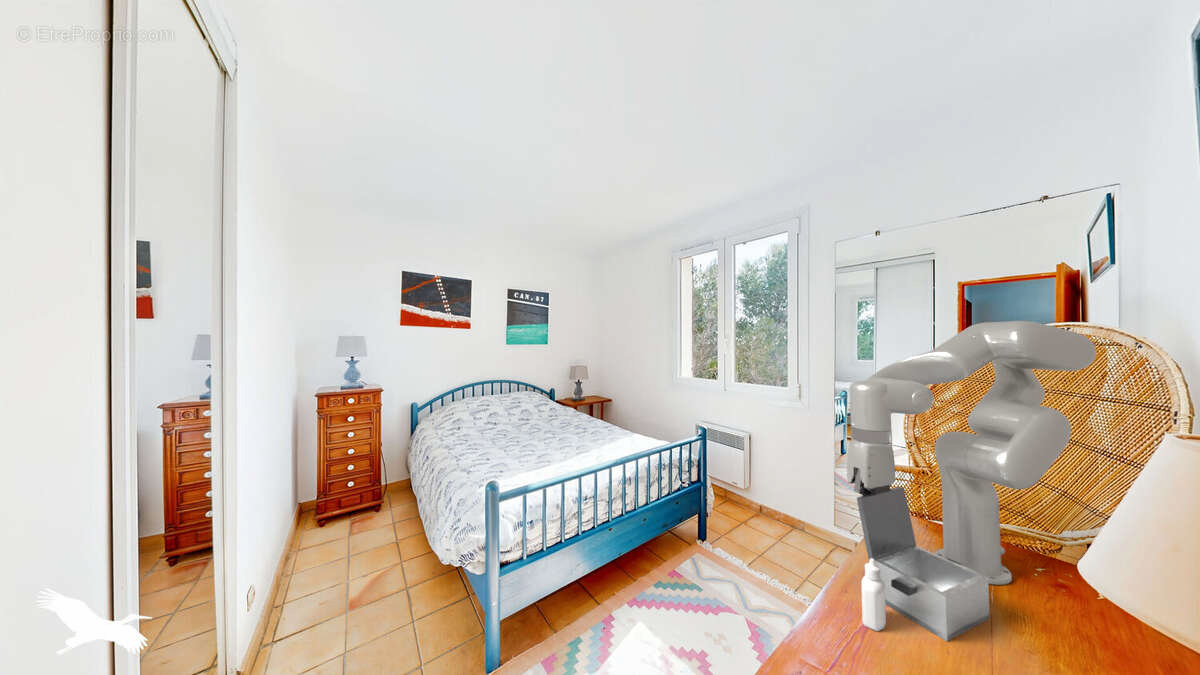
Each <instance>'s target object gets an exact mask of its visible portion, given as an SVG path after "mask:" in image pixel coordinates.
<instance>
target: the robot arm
mask: <svg viewBox="0 0 1200 675" xmlns="http://www.w3.org/2000/svg"><path fill="white" fill-rule="evenodd" d="M1096 356H1097V350H1096V346H1095V344H1094V343H1093V341H1092V340H1091V339H1090V338H1088V337H1087V336H1086V335H1083V334H1081V333H1079V332H1076V331H1072V330H1068V329H1064V328H1060V327H1056V326H1053V325H1050V324H1049V325H1048V324H1044V323H1040V322H1034V321H1027V320H1014V321H1013V320H1011V321H1010V320H1009V321H992V322H990V321H989V322H988V321H986V322H980V323H976V324H973V325H970V326H968V327H967V328H965V329H964V330H962V331H960V332H958V333H957V334H956V335H954V336H953V337H951V338H950V339H949V338H948V340H946V341H944V342H943V343H941V344H940V345H938V346H937V347H935V348H933V349H932V350H930V351H927V352H923V353H919V354H917V355H914V356H911V357H908V358H905V359H902V360H899V361H896V362H893V363H891V364H889V365H886V366H885V367H883V368H881V369H880V370H878V371H877V372H875V373H873V374H872V375H870V376H869V377H868V378H867V379H866V380H859V381H853V382H852V383H851V384H850V386H849V404H850V406H849V407H850V408H849V410H850V436H851V437H850V438H851V439H850V441H849V443H848V450H847V460H846V461H847V462H846V481H847V482H848V483H849V484H852V485H853V484H854V486H853V487H854V488H853V491H854V493H857V494H859V495H861V496H865V495H869V494H871V490H870V489H874V487H881V486H886V485H889V486H890V487H891V486H892V484H894V483H895V481H896V466H895V464H896V463H895V462H896V461H895V455H894V449H893V434H892V414H903V415H919V414H924V413H925V412H927V411H929V410H930V409H931V408H932V407H933V405H934V402H935V396H934V393H933V391H932V390H931V389H930V388H929V387H928V385H940V384H947V383H953V382H958V381H959V382H960V381H962V380H965V379H967V378H968V377H970V376H972V374H974V373H975V372H977V371H978V370H980V369H982V368H983V367H985V366H986V365H988V364H989V363H992V366H993V369H994V374H995V376H994V377H995V378H994V381H993V384H992V385H991V387H990V388H989V390H988V391H987V392H986V393H985V394H984V396H983V397H982V398H981V399H980V400H979V401H978V403H977V404H976V405H975V406H974V408H973V409H972V411H971V412H970V414H969V415H968V419H967V424H968V427H969V428H970V429H971V431H973V432H974V433H971V432H965V431H948V432H945V433H942V434H941V435H939V436H938V438H937V439H936V441H935V444H934V453H935V459H936V461H937V465H938V469H939V473H940V480H941V500H942V501H941V503H942V504H941V506H942V532H943V534H942V536H943V539H942V540H943V548H939V549H937V550H936V551H935V554H937V555H939V556H941V557H943V558H949V559H951V560H953V561H956V562H958V563H960V564H963V565H965V567H966V568H969V569H971V570H973V571H975V572H978V573H980V574H982V575H985V576H987V577H988V585H1000V586H1001V585H1008V584H1009V583H1011V582H1012V580H1013V578H1012V573H1011V571H1010V570H1009V569H1008V568H1007V567H1006V566H1004V565H1003V564H1002V555H1004V554H1005V553H1006V550H1005V548H1004V547H1003V546H1002V545H1001V525H1000V524H1001V523H1000V521H1001V520H1000V499H999V495H998V492H997V489H996V487H995V486H994V485H999V486H1003V487H1005V488H1009V489H1013V490H1027V489H1029V488H1032V487H1033V486H1034V485H1036V484H1037V483H1038V482H1039V481H1040V480H1041V479H1042V477H1044V475H1046V473H1047V472H1048V470H1049V469H1050V468H1051V466H1053V464H1054V463H1055V462H1056V460H1057V459H1058V458H1059V457H1060V455H1061V454H1062V453H1063V451H1065V449H1066V448H1067V446H1068V444H1069V442H1070V438H1071V434H1072V428H1071V423H1070V420H1069V418H1067V416H1066V415H1065V414H1064V413H1062V412H1061V411H1059V410H1057V409H1056V408H1052V407H1048V406H1044V405H1042V403H1043V401H1044V399H1045V396H1046V393H1045V389H1044V387H1043V385H1042V383H1041V382H1040V381H1039V380H1038V378H1037V377H1036V375H1035V373H1034V372H1033V370H1044V371H1062V372H1075V371H1076V372H1078V371H1080V370H1081V371H1082V370H1084V369H1086V368H1087V367H1089V366H1091V365H1092V364H1093V362H1094V361H1095V359H1096ZM975 433H976V434H975Z"/></svg>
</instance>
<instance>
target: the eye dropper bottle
mask: <svg viewBox="0 0 1200 675" xmlns="http://www.w3.org/2000/svg"><path fill="white" fill-rule="evenodd" d="M868 561H869V560H868ZM860 584H861V616H862V617H861V618H862V624H863V626H865V627H867V628H869V629H871V630H873V631H876V632H879V631H881V630H883V629H884V628H885V627H886V623H887V620H886V619H887V616H886V615H887V614H886V613H887V612H886V604H885V585H884V582H883V580H882V579H881V575H880V568H879V567H878V566H877V565H876V564H875V560H874V559H872V558H870V561H869V562H866V563H865V564H864V576H863V577H862V579H861V583H860Z"/></svg>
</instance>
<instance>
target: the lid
mask: <svg viewBox="0 0 1200 675" xmlns="http://www.w3.org/2000/svg"><path fill="white" fill-rule="evenodd" d="M870 490H871V494H869V495H865V496H862V495H861V496H858V497H856V501H857V507H858V512H859V516H860V521H861V522H860V523H861V527H862V533H863V538H864V542H865V543H864V544H865V548H866V553H867V554H866V555H867V558H868V561H870V558H872V559H874V560H877V559H880V558H883V557H885V556H888V555H891V554H894V553H897V552H899V551H902V550H905V549H908V548H911V547H913V546H917V542H916V537H915V536H916V535H915V533H914V527H913V523H912V518H911V514H910V510H909V506H908V500H907V496H906V490H905V488H904V487H902V486H896V487H893V488H891V486H889V485H886V486H881V487H874V489H870Z"/></svg>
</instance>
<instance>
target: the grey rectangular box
mask: <svg viewBox="0 0 1200 675" xmlns="http://www.w3.org/2000/svg"><path fill="white" fill-rule="evenodd" d="M875 564H876V565H877V566H878V567H879V568H880V575H881V579H882V580H883V582H884V585H885V606H887V607H889V608H891V609H892V610H894V611H896V612H897V613H899V614H901V615H902V616H904V617H905V618H908V619H909V620H910V621H913V622H914V623H915V624H918V625H919V626H920V627H922V628H924V629H925V630H927V631H929V632H930V633H932V634H934V635H935V636H937V637H939V638H940V639H942V640H943V641H945V642H949V641H951V640H953V639H955V638H956V636H957V637H959V636H960V635H962V634H964V633H965V632H968V631H970V630H971V629H973V628H976V627H977V626H978V625H980V624H981V625H982V624H983V623H984V622H986V621H988V620H990V617H991V616H990V592H989V584H988V577H987V576H985V575H982V574H980V573H978V572H975V571H973V570H971V569H969V568H966V567H965V565H963V564H960V563H958V562H956V561H953V560H951V559H949V558H943V557H941V556H939V555H937V554H936V553H934V552H932V551H929V550H927V549H925V548H922V547H920V546H918V545H916V546H913V547H911V548H908V549H905V550H902V551H899V552H897V553H894V554H891V555H888V556H885V557H883V558H880V559H877V560H875ZM954 637H955V638H954ZM952 638H953V639H952Z"/></svg>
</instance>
